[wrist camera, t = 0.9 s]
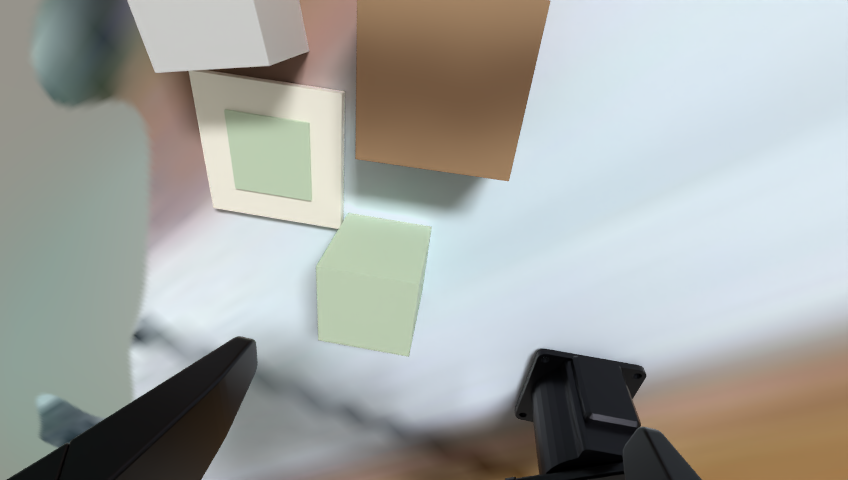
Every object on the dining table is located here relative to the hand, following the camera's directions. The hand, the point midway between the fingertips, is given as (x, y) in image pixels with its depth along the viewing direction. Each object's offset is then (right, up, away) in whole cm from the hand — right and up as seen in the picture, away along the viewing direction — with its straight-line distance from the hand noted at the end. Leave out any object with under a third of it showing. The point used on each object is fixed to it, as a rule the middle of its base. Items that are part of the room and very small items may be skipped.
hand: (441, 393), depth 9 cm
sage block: (-2, +3, +14) cm, 14 cm away
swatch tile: (-8, +8, +11) cm, 16 cm away
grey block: (-8, +14, +8) cm, 18 cm away
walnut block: (+1, +11, +8) cm, 14 cm away
